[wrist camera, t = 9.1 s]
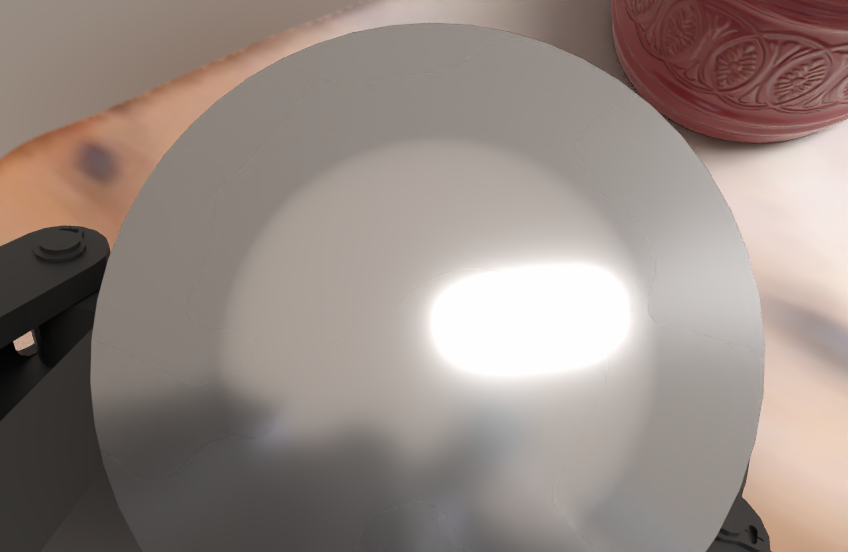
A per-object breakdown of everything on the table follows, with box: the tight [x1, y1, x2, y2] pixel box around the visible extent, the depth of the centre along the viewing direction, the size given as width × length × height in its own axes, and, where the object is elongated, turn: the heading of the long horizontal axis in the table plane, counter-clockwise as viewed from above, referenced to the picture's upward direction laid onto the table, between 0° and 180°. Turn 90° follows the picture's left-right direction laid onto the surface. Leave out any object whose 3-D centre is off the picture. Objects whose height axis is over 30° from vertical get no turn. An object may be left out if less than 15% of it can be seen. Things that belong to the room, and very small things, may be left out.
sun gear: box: [90, 23, 765, 552], centre depth 11 cm, size 12×12×14 cm
